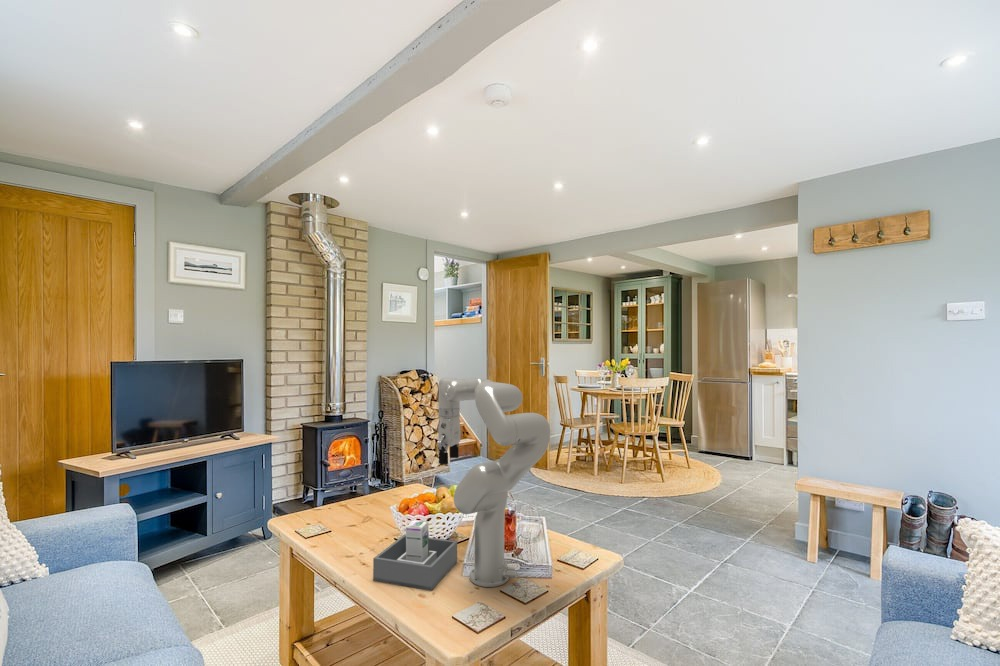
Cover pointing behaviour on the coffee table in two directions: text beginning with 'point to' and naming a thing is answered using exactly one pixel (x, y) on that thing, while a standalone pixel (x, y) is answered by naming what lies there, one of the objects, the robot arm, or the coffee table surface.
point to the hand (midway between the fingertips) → (448, 460)
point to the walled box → (415, 564)
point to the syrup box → (417, 541)
